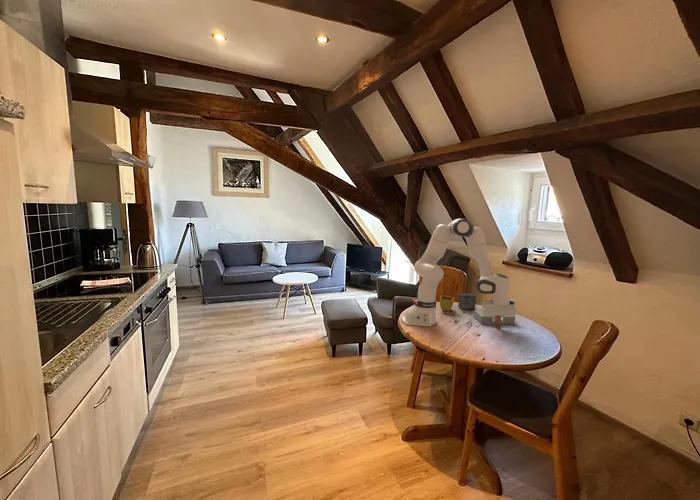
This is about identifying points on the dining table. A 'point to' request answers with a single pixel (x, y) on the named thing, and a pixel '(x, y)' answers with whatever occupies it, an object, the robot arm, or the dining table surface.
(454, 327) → the dining table surface
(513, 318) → the hole block
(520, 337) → the dining table surface
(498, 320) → the peg
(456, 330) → the dining table surface
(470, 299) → the small box
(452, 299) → the flower pot
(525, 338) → the dining table surface
